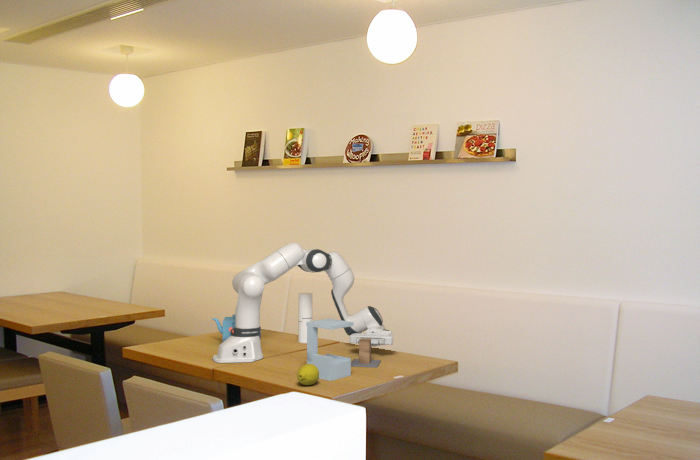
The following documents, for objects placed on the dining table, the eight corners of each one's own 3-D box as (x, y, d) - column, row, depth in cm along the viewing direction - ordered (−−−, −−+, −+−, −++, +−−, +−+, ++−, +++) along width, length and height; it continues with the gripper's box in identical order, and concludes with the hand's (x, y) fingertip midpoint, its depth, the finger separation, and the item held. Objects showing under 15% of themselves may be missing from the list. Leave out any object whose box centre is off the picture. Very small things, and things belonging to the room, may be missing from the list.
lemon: (309, 380, 244) (309, 360, 244) (324, 384, 239) (324, 363, 239) (290, 386, 235) (290, 365, 235) (305, 390, 230) (305, 368, 230)
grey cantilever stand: (328, 369, 262) (328, 318, 262) (353, 375, 253) (353, 322, 253) (306, 375, 252) (306, 322, 252) (331, 381, 243) (331, 325, 243)
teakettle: (237, 338, 332) (237, 311, 332) (261, 342, 320) (262, 314, 320) (208, 344, 317) (208, 315, 317) (233, 348, 305) (233, 318, 305)
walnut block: (360, 361, 276) (361, 338, 276) (370, 361, 275) (371, 338, 275) (359, 363, 272) (359, 340, 272) (369, 363, 271) (369, 340, 271)
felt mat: (349, 366, 269) (349, 364, 269) (354, 360, 281) (354, 358, 281) (376, 367, 267) (376, 366, 267) (380, 361, 278) (380, 360, 278)
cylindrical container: (310, 343, 319) (310, 294, 319) (296, 342, 321) (296, 294, 321) (313, 340, 326) (313, 293, 326) (300, 340, 328) (300, 292, 328)
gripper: (352, 329, 297) (346, 334, 284) (395, 330, 293) (391, 335, 280) (352, 342, 297) (346, 348, 284) (395, 344, 293) (391, 350, 280)
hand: (369, 342), depth 282 cm, fingers open, 8 cm apart
